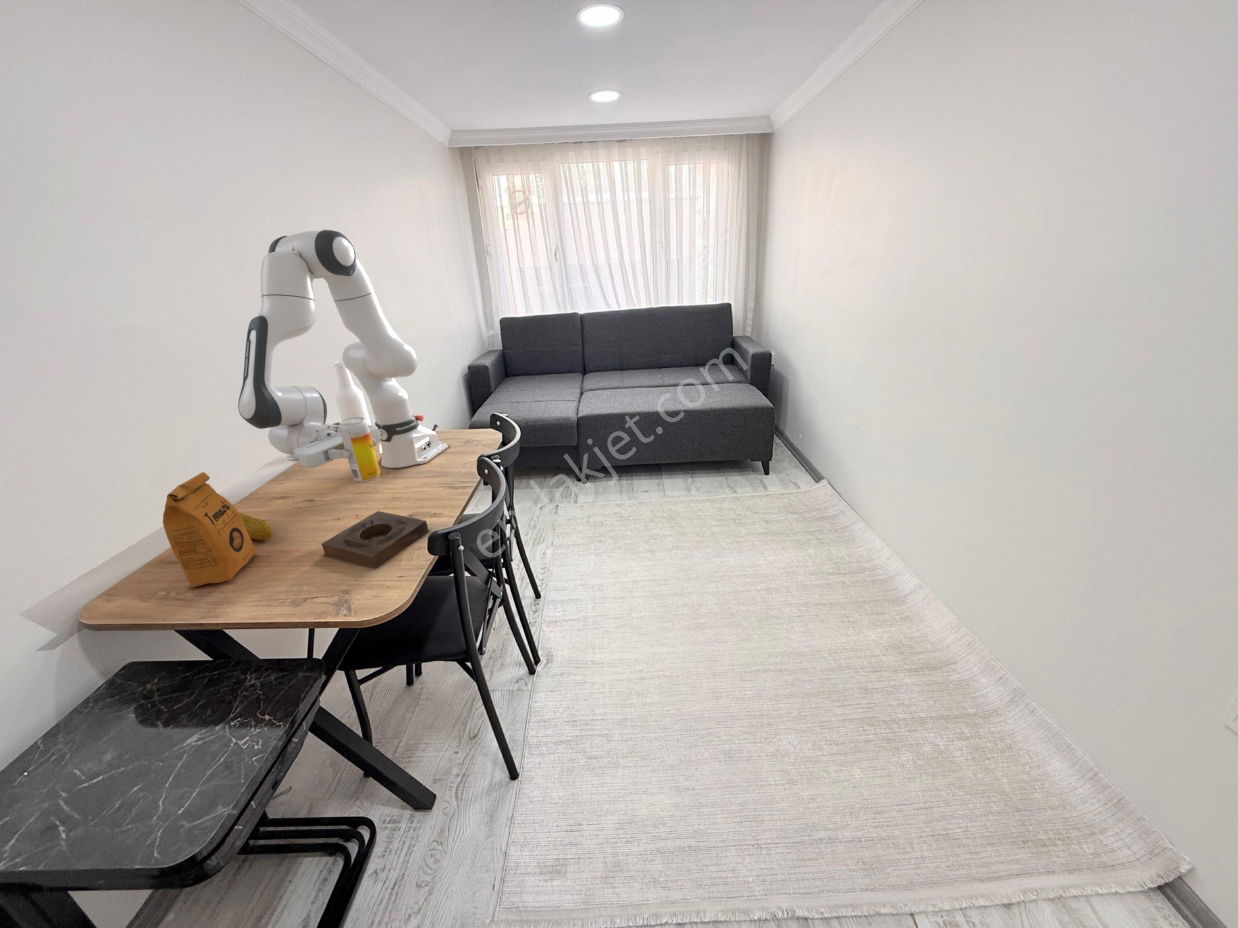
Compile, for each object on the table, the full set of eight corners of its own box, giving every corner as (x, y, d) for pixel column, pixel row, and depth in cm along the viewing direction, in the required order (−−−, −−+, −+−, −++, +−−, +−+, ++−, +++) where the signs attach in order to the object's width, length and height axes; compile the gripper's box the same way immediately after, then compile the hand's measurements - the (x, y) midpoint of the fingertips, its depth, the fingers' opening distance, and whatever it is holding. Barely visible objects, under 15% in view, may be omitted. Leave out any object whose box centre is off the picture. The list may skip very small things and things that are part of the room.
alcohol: (366, 436, 189) (344, 358, 177) (380, 440, 184) (358, 359, 173) (344, 444, 182) (320, 363, 170) (357, 447, 178) (334, 365, 166)
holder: (380, 521, 126) (377, 510, 125) (428, 531, 120) (426, 520, 119) (325, 554, 113) (321, 543, 112) (376, 568, 107) (372, 556, 106)
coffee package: (266, 553, 115) (231, 467, 106) (232, 586, 103) (190, 492, 95) (221, 557, 114) (183, 470, 106) (182, 590, 103) (135, 497, 94)
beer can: (386, 474, 124) (371, 417, 118) (369, 484, 118) (352, 425, 112) (366, 472, 125) (351, 416, 119) (348, 482, 120) (331, 424, 114)
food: (206, 534, 125) (197, 513, 122) (229, 523, 130) (220, 503, 127) (263, 546, 118) (254, 525, 115) (285, 534, 122) (277, 513, 120)
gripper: (278, 445, 114) (319, 452, 108) (353, 418, 131) (391, 422, 125) (286, 470, 116) (327, 478, 111) (359, 440, 133) (397, 445, 128)
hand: (362, 448), depth 118 cm, fingers closed on beer can, 6 cm apart
